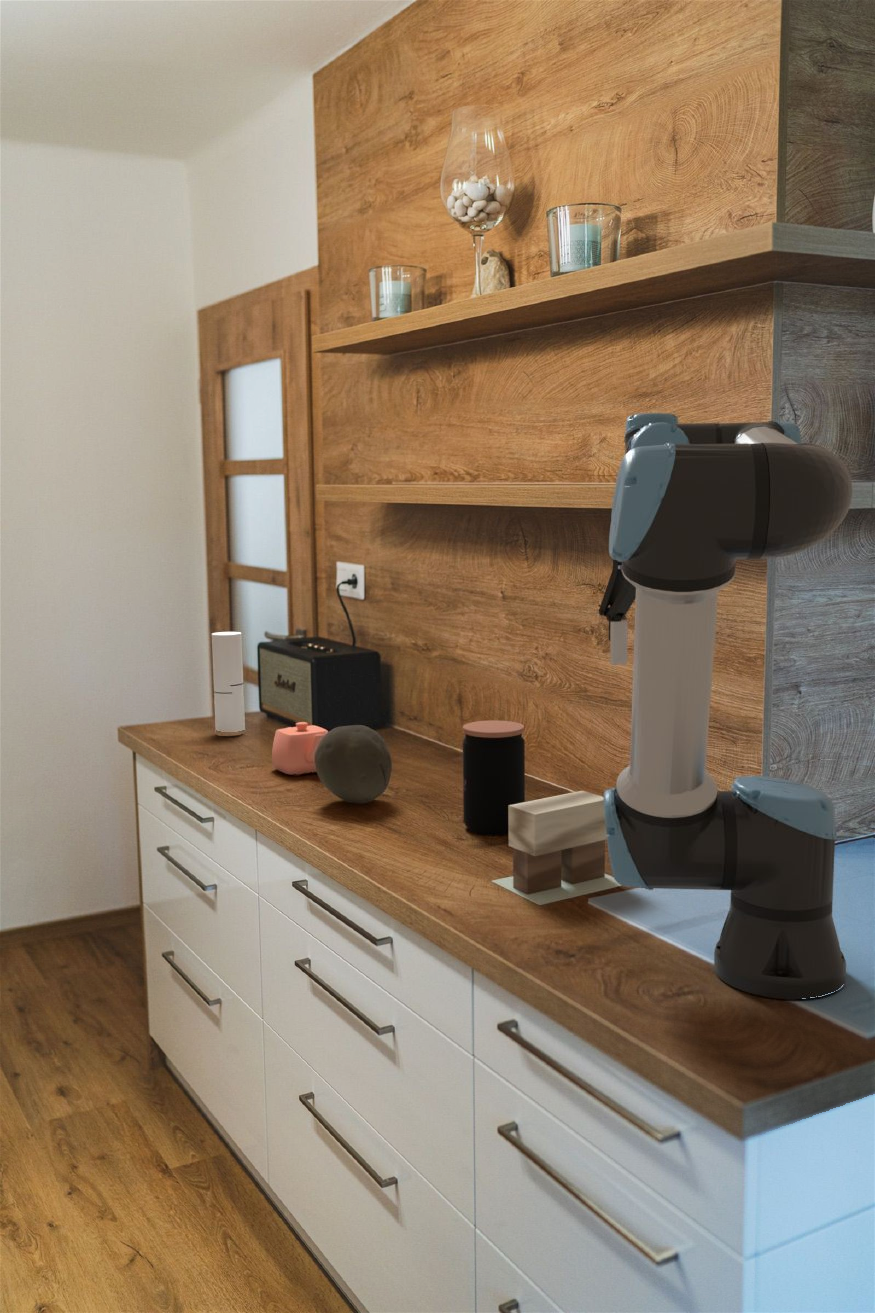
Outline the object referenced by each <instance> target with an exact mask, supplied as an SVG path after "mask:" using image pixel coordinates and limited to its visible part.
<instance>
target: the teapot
mask: <svg viewBox="0 0 875 1313" xmlns="http://www.w3.org/2000/svg"><path fill="white" fill-rule="evenodd" d="M308 724H309V723H308V722H306V721H300V722H296V723H295V726H292V727H291V726H288V727H285V728H284V727H283V728H278V729H277V730H275V732H274V734H275V735H274V738H273V743H272V753H271V760H272V764H273V767H274V769H275V770H277V771H279V772H281V773H284V774H285V775H292V776H294V775H293V774H302V775H303V774H309V773H311V772H312V773H317V770H316V767H315V752H316V750H317V748H318V745H319V742H320V741H321V739H322V738H323V737H324V736H325V735H326V734H327V733H328V732H329V731H328V730H327V729H326V728H323V727H320V726H318V725H314V724H313V725H312V724H311V725H308Z"/></svg>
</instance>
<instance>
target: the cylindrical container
mask: <svg viewBox="0 0 875 1313" xmlns="http://www.w3.org/2000/svg"><path fill="white" fill-rule="evenodd" d="M242 638H243V637H242V632H240V631H221V632H219V631H218V632H213V633H211V647H212V648H211V649H212V673H213V674H212V676H213V679H212V680H213V697H214V698H213V699H214V700H213V704H214V720H215V721H214V726H215V731H216V730H217V731H221V732H238V731H242V730H245V731H246V721H245V719H246V718H245V696H244V695H245V694H244V692H245V690H244V666H243V644H242V642H243V641H242V640H243V639H242Z"/></svg>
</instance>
